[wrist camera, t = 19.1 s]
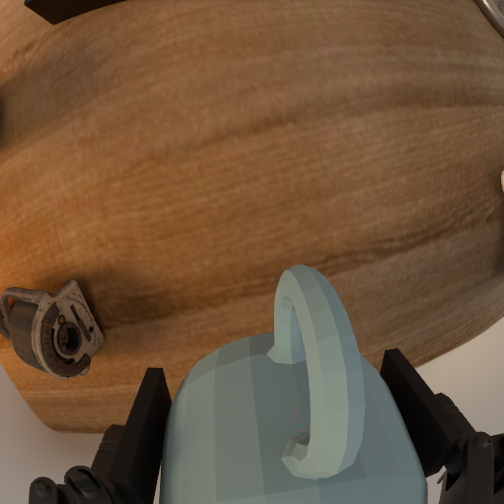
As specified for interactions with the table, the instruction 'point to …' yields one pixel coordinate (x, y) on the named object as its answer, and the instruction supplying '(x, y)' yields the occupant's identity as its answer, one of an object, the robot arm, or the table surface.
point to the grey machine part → (51, 329)
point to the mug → (290, 416)
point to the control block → (64, 8)
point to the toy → (502, 180)
